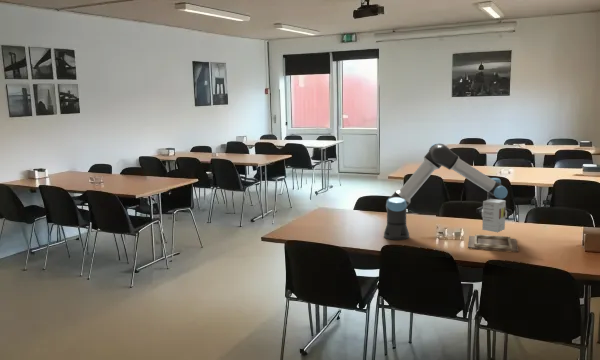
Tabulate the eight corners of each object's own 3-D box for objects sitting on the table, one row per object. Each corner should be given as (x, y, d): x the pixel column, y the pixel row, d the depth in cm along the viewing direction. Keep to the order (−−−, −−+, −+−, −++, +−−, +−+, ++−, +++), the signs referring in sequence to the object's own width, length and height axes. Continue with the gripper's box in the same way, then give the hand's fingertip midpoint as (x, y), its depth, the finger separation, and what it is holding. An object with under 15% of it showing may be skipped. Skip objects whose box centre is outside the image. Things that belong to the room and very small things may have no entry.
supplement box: (497, 232, 281) (498, 202, 278) (481, 230, 287) (482, 200, 284) (505, 229, 287) (506, 200, 285) (489, 226, 294) (490, 198, 291)
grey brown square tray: (467, 248, 284) (467, 244, 284) (469, 237, 306) (469, 233, 306) (518, 252, 275) (518, 247, 275) (515, 240, 298) (516, 236, 297)
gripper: (515, 213, 301) (517, 222, 281) (472, 211, 309) (471, 220, 289) (515, 201, 300) (517, 209, 280) (472, 199, 308) (471, 207, 288)
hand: (494, 214), depth 284 cm, fingers closed on supplement box, 12 cm apart
